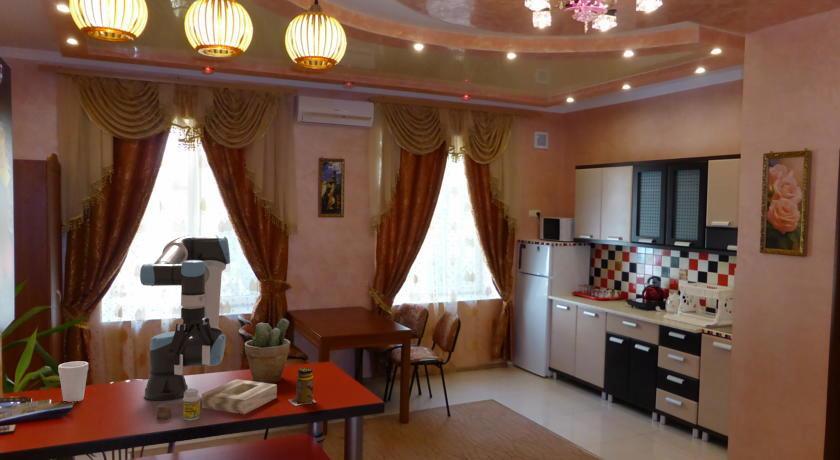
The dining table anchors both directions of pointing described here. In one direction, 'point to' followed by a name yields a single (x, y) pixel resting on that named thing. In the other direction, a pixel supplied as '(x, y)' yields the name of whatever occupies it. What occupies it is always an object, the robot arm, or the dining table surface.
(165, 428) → the dining table surface
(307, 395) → the condiment
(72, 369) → the foam cup
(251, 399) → the board
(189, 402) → the supplement bottle
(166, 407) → the walnut dowel short
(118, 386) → the dining table surface
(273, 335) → the potted plant
